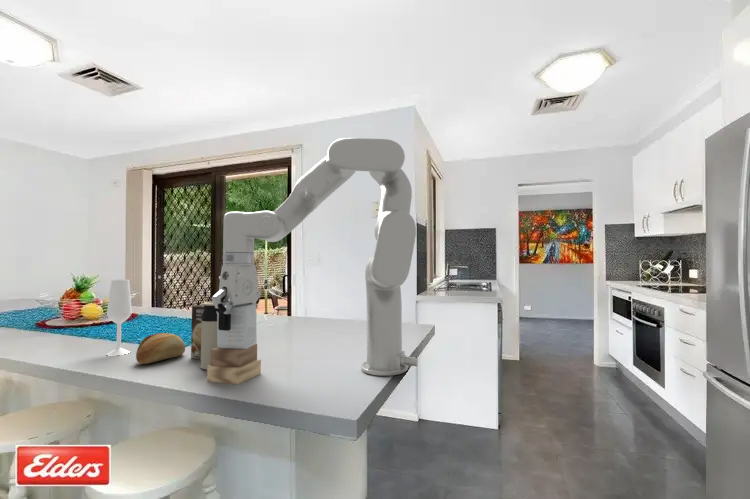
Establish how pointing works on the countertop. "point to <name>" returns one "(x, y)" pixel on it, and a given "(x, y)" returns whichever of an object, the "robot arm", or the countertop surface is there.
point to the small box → (239, 328)
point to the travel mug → (208, 333)
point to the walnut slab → (233, 356)
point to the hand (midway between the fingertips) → (238, 326)
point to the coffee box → (196, 331)
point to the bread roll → (159, 348)
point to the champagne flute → (119, 310)
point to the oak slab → (234, 373)
